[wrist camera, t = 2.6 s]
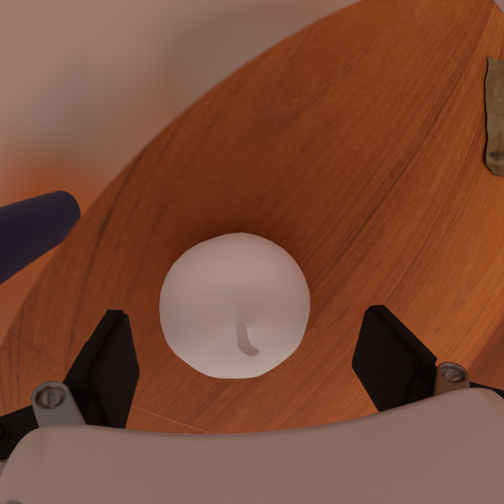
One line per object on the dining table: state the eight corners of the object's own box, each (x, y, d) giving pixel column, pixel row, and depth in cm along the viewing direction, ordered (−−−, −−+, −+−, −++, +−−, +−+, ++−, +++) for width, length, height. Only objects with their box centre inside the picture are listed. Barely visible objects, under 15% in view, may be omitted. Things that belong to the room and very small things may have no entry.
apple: (311, 250, 17) (378, 318, 9) (253, 342, 18) (276, 439, 11) (203, 195, 15) (192, 229, 8) (153, 301, 17) (120, 395, 9)
